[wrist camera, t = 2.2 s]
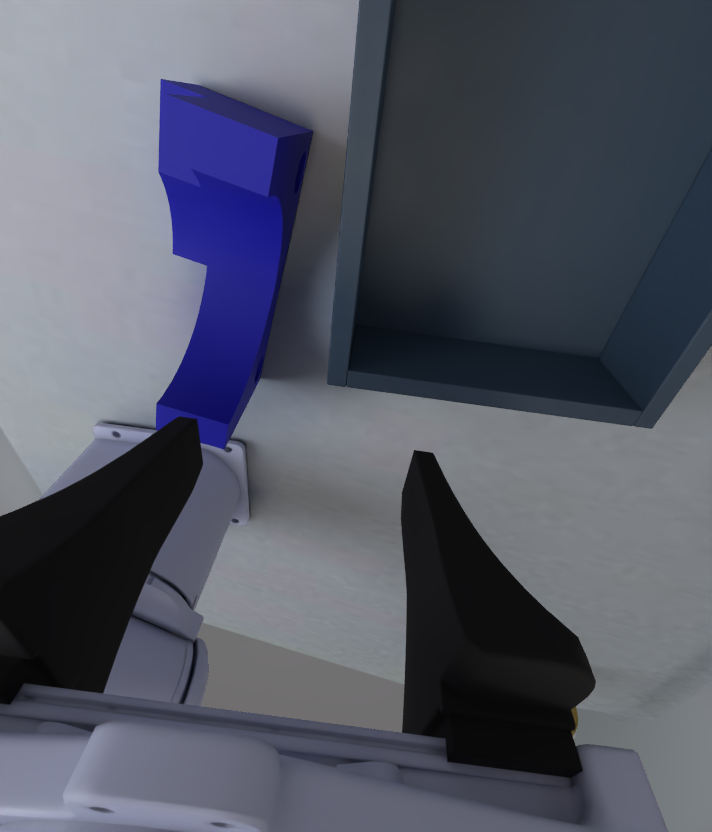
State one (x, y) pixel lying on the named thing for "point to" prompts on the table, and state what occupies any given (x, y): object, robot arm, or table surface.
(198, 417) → the blue cradle bracket
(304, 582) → the table surface
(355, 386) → the desk bin
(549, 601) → the table surface
